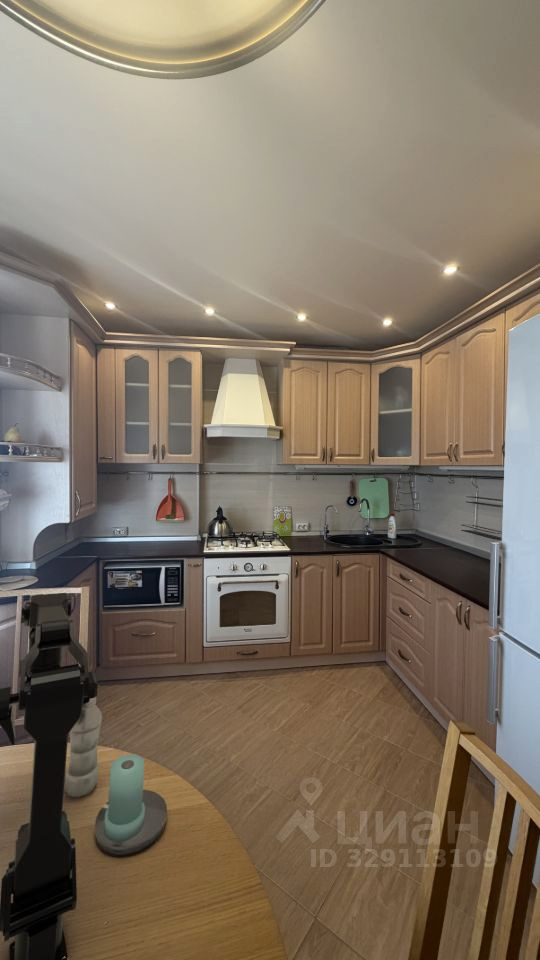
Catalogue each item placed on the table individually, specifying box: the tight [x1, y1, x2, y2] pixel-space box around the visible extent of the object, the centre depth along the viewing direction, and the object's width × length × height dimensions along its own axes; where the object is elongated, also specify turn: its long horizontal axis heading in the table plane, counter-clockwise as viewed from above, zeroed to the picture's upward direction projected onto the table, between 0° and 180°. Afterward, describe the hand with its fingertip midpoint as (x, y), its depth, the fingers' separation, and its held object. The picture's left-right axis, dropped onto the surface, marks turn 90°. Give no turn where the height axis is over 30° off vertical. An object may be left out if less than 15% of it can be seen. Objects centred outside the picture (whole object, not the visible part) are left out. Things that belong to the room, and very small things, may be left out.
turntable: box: [94, 789, 168, 851], centre depth 76 cm, size 13×13×1 cm
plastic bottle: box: [64, 696, 103, 798], centre depth 85 cm, size 6×7×20 cm
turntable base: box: [95, 826, 165, 858], centre depth 76 cm, size 12×12×1 cm
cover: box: [104, 753, 145, 842], centre depth 74 cm, size 7×7×11 cm
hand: (41, 736), depth 77 cm, fingers open, 9 cm apart
